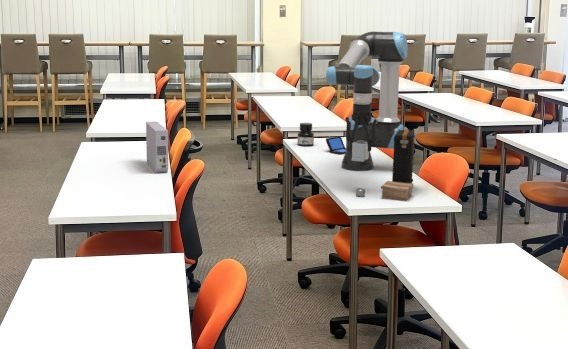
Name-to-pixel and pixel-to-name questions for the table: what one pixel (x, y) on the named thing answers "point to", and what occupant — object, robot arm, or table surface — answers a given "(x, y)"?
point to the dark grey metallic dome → (360, 192)
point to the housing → (359, 151)
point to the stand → (396, 190)
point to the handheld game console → (336, 145)
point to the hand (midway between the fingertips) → (360, 158)
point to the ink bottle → (305, 135)
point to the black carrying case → (403, 156)
